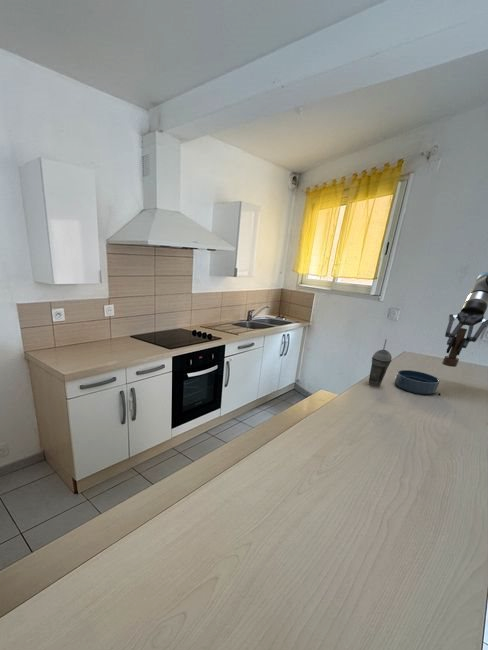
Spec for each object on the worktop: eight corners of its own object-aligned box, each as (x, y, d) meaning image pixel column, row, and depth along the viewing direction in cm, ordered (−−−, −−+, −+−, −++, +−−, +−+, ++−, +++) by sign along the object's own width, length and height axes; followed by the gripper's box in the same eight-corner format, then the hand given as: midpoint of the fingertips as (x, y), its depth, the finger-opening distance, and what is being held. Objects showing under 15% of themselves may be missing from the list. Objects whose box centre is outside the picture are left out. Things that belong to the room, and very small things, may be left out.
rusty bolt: (457, 365, 132) (471, 329, 126) (455, 367, 129) (469, 330, 123) (443, 362, 135) (456, 326, 129) (440, 364, 132) (454, 328, 126)
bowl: (438, 389, 139) (443, 377, 137) (431, 398, 129) (436, 386, 127) (399, 378, 149) (402, 367, 147) (389, 386, 139) (393, 375, 137)
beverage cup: (368, 386, 138) (381, 341, 130) (362, 380, 145) (374, 337, 137) (386, 388, 137) (400, 342, 129) (379, 382, 144) (393, 338, 136)
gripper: (498, 315, 129) (476, 362, 125) (450, 308, 139) (428, 352, 135) (503, 302, 123) (480, 351, 119) (453, 297, 134) (430, 342, 129)
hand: (452, 352), depth 127 cm, fingers closed on rusty bolt, 3 cm apart
